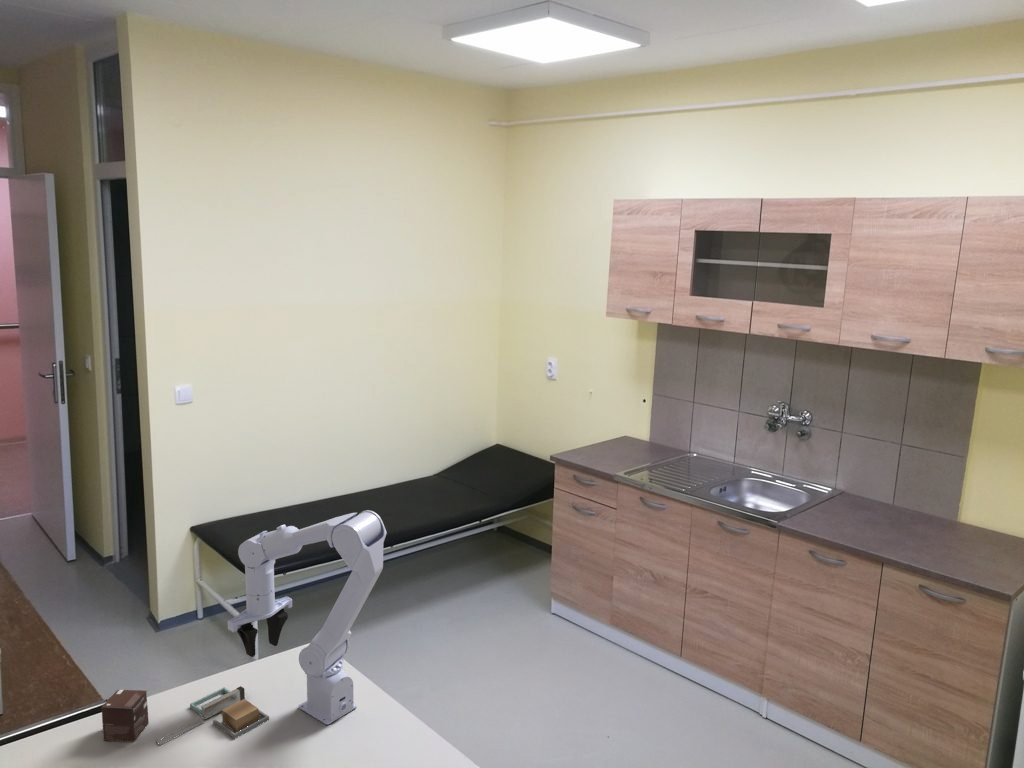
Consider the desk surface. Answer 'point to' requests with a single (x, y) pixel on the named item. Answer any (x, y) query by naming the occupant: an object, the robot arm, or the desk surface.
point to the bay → (194, 704)
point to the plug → (240, 715)
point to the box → (125, 715)
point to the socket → (228, 731)
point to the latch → (222, 702)
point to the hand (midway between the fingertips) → (262, 649)
